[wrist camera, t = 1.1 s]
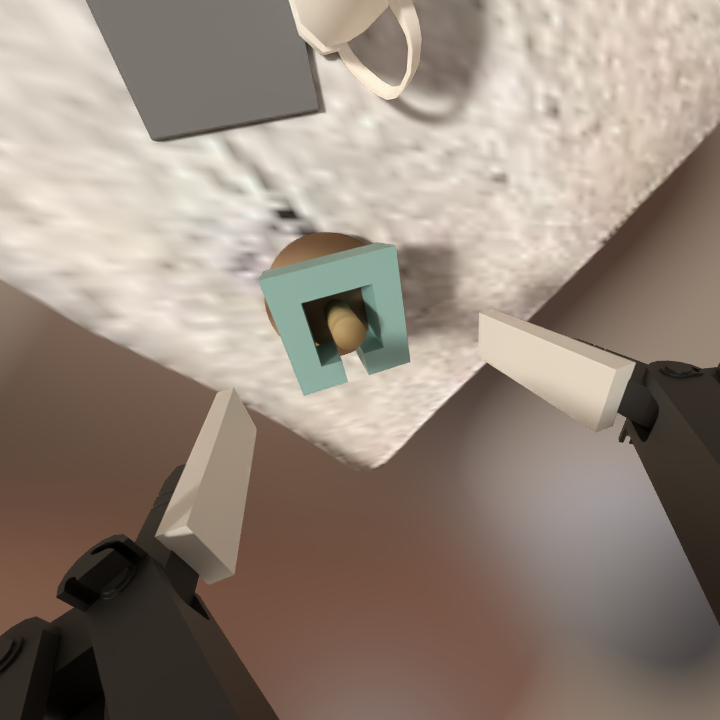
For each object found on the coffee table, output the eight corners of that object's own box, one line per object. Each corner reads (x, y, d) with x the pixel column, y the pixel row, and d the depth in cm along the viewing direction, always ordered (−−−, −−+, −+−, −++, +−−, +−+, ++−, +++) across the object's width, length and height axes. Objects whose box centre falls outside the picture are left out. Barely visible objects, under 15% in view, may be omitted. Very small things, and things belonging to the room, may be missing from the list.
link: (263, 271, 19) (258, 280, 16) (377, 242, 20) (395, 245, 17) (301, 371, 24) (303, 395, 20) (392, 343, 25) (410, 361, 21)
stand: (244, 249, 23) (216, 264, 13) (373, 218, 24) (426, 213, 15) (290, 364, 28) (291, 428, 19) (391, 334, 30) (437, 380, 21)
